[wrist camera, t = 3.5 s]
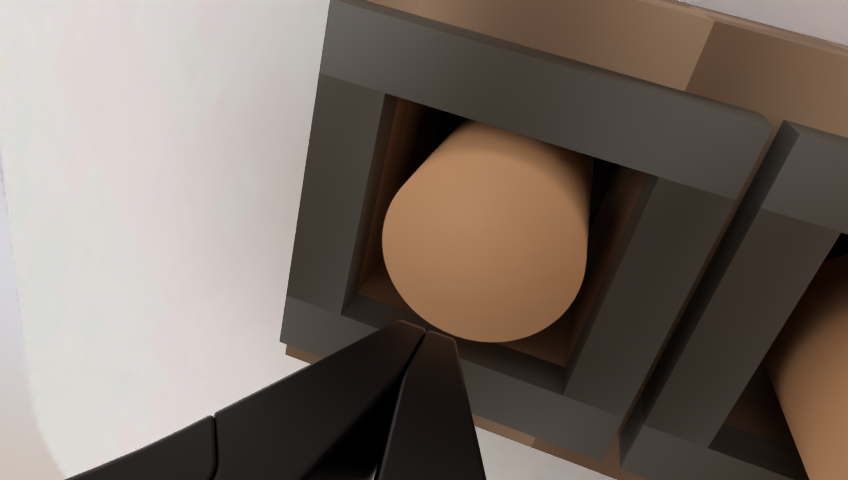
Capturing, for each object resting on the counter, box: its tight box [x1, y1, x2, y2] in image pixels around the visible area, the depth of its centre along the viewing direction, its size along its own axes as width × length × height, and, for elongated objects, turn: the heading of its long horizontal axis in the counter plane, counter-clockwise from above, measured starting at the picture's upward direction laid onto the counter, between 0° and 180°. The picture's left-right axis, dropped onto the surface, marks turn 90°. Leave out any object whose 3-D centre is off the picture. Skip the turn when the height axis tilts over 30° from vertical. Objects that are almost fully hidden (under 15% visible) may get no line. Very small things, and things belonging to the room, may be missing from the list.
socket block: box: [280, 0, 848, 480], centre depth 14 cm, size 16×10×6 cm, turn 77°
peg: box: [382, 118, 593, 342], centre depth 15 cm, size 4×4×6 cm
